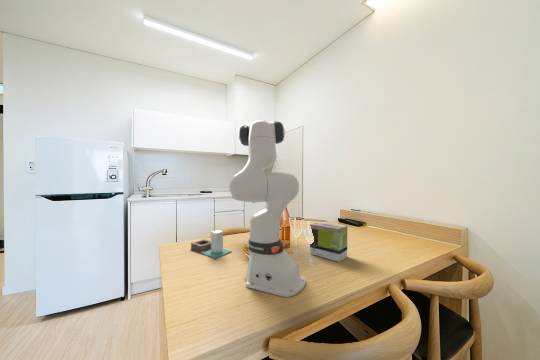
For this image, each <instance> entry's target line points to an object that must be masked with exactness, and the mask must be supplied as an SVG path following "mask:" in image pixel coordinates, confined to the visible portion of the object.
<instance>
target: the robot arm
mask: <svg viewBox="0 0 540 360" xmlns="http://www.w3.org/2000/svg"><path fill="white" fill-rule="evenodd" d="M285 130H286V129H285V127H284V125H283V123H282V122H281V121H278V120H277V121H276V120H275V121H266V120H263V119H262V120H260V119H259V120H256V121H254V122H251V123H243V124H241V125H240V126H239V129H238V134H237V135H238V139H239V141H240V143H241V144H242V146H246V147H248V156H247V157H248V159H247V162H246V164H245V166H244V167H243V169H242V170H240V171H239V172H238V173H236V174H235V175H233V177H232V178H231V180H230V182H229V192H230V196H231V199H233V200H236V201H239V202H247V203H252V204H255V203H256V204H257V203H266V204H265V206H264V207H263V208H262V209H261V210H259V211H258V212H255V213H254V214H253V215H252V216H251V218H250V220H249V237H248V238H249V239H248V250H249V254H248V256H249V257H248V263H247V268H246V272H245V275H244V278H245V280H246V284H245V286H246V287H247V288H250V289H253V290H257V291H259V292H260V291H261V292H264V293H269V294H272V295H275V296H280V297H283V298H289V297H292V296H296V294H298V293H301V291H302V290H303V289H304V288H305V286H306V284H307V279H306V276H303V275H301V273H300V268H299V265H298V262H296V261H295V259H293V258H292V257H291V256H290V255H289V254H288V253H287V252H286V250H285V249H284V247H286V244H287V243H286V242H282V240H281V238H280V231H281V230H280V229H281V220H282V215H283V213H284V210H285V209H286V208H287V206H288V205H289V204H290V203H291V202H292V201H293V200H295V199H296V197H297V196H298V194H299V191H300V184H299V181H298V180H299V179H297V177H296V176H295V175H294V174H290V173H286V172H268V171H267V172H265V170H267V169H269V168H271V167H272V166H273V165H274V164H275V163H276V161H277V157H278V156H277V149H276V148H277V147H276V145H277V144H280V143H282V142H283V141H284V140H285V135H286V131H285Z"/></svg>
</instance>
